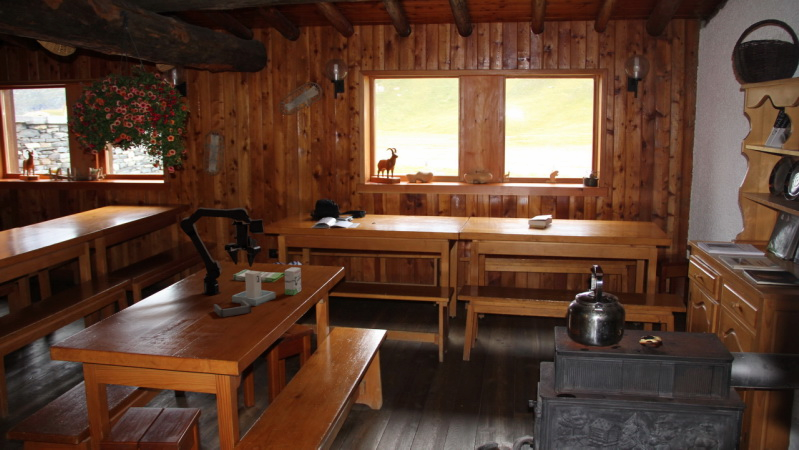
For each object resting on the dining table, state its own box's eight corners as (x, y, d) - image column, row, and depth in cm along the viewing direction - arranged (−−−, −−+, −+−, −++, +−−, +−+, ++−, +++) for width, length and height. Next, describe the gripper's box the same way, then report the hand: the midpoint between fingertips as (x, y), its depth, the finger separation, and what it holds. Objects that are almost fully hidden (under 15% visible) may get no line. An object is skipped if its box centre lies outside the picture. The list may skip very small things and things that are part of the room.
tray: (232, 302, 306) (231, 295, 306) (252, 294, 318) (251, 288, 318) (256, 306, 300) (255, 299, 299) (275, 298, 312) (275, 292, 311)
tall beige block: (246, 299, 308) (245, 273, 306) (253, 296, 312) (252, 270, 310) (256, 300, 305) (255, 274, 303) (263, 298, 309) (262, 272, 307)
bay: (214, 310, 293) (213, 304, 292) (243, 306, 299) (243, 299, 299) (220, 317, 284) (220, 310, 283) (251, 312, 290) (251, 305, 290)
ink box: (294, 295, 317) (293, 271, 315) (284, 294, 318) (283, 270, 316) (301, 290, 325) (301, 267, 323) (292, 290, 326) (291, 266, 324)
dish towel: (245, 273, 362) (245, 267, 361) (285, 275, 357) (285, 269, 357) (231, 281, 345) (231, 274, 344) (273, 283, 341) (273, 276, 340)
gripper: (268, 233, 321) (269, 264, 324) (239, 229, 330) (240, 260, 333) (252, 236, 311) (253, 269, 314) (222, 233, 320) (224, 264, 323)
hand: (243, 265), depth 321 cm, fingers open, 9 cm apart
